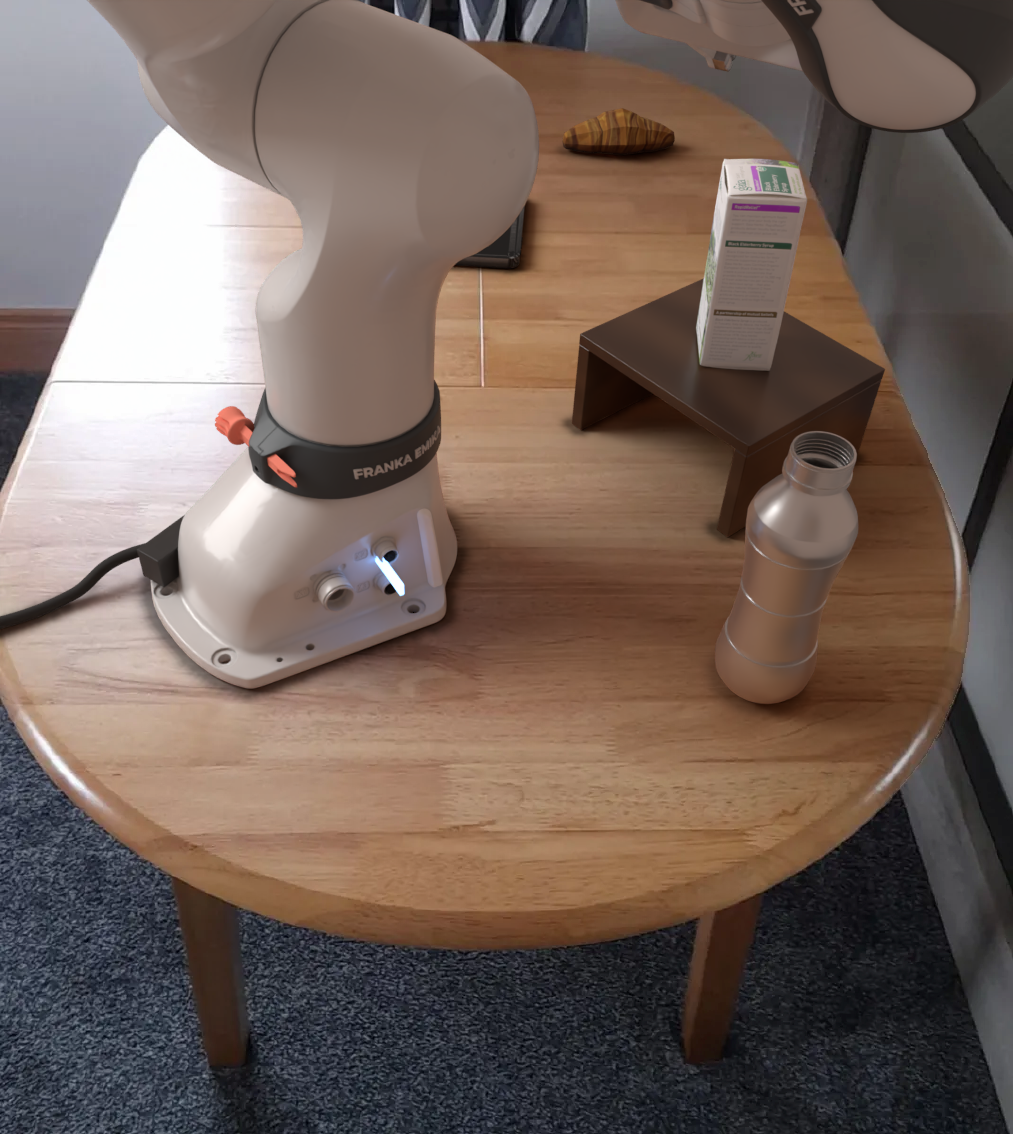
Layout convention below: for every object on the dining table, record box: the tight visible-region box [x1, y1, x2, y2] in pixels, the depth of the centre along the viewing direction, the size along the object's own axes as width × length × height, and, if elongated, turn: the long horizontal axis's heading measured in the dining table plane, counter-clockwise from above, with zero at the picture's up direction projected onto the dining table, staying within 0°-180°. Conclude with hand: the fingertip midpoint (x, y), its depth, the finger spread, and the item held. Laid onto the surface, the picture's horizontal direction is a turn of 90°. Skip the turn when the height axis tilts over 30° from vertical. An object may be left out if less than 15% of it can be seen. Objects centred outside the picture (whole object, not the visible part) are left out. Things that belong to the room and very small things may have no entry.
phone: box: [454, 204, 526, 269], centre depth 122 cm, size 8×1×15 cm
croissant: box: [562, 107, 676, 156], centre depth 136 cm, size 14×7×5 cm, turn 98°
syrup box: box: [696, 158, 808, 371], centre depth 87 cm, size 6×6×14 cm
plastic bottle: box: [714, 431, 859, 705], centre depth 72 cm, size 6×7×20 cm
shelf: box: [571, 277, 886, 538], centre depth 95 cm, size 16×18×9 cm
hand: (789, 75), depth 78 cm, fingers open, 8 cm apart
